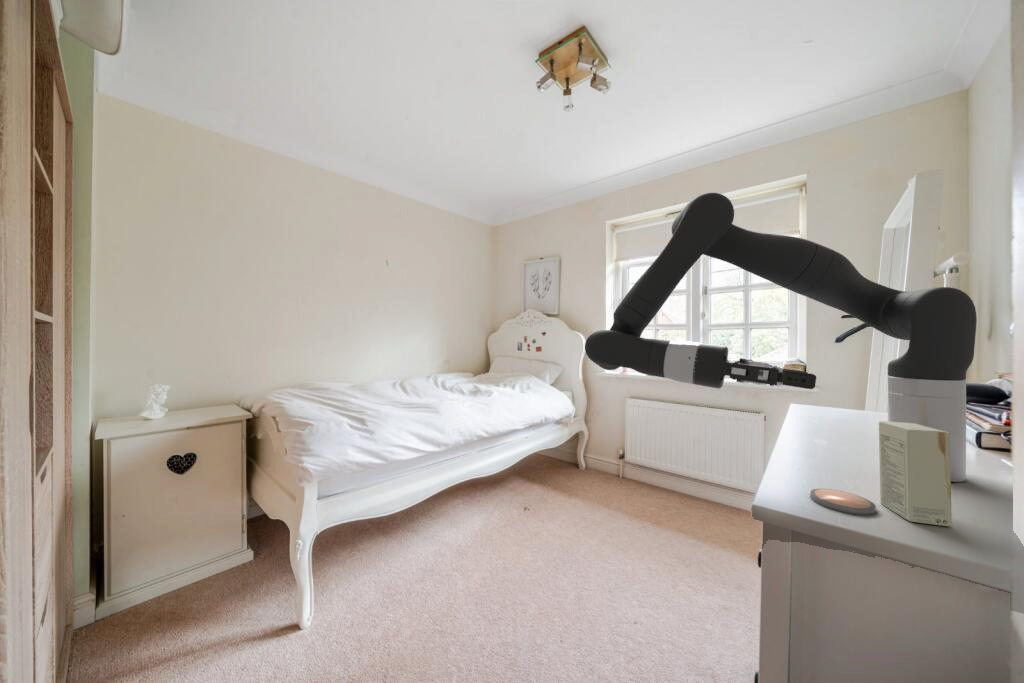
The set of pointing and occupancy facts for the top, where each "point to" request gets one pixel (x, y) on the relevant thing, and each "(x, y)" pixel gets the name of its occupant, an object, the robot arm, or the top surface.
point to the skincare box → (915, 472)
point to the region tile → (843, 501)
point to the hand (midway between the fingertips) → (811, 380)
